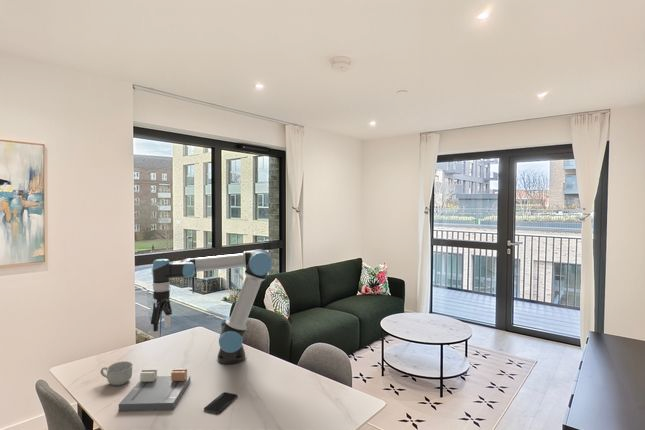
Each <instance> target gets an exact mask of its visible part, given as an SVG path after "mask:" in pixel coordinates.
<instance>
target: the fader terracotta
mask: <svg viewBox="0 0 645 430" xmlns="http://www.w3.org/2000/svg"><path fill="white" fill-rule="evenodd" d="M170 373H171V374H170V376H171V381H185V379H186V378H187V376H188V368H184V367H183V368H173V369H172V371H171V372H170Z"/></svg>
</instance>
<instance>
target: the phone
mask: <svg viewBox="0 0 645 430" xmlns="http://www.w3.org/2000/svg"><path fill="white" fill-rule="evenodd" d="M237 399H238V394H237V393H230V392H226V391H225V392H222V393H220V394H219V395H218V396H217V397H215V399H213V400H212V401H211V402H210V403H208V404H207V405H206V406H205V407H204V408H203V412H205V413H208V414H214V415H220V414H221V413H222V412H223V411H224V410H226V409H227V408H228V407H230V405H231V404H232V403H233V402H234V401H236V400H237Z"/></svg>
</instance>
